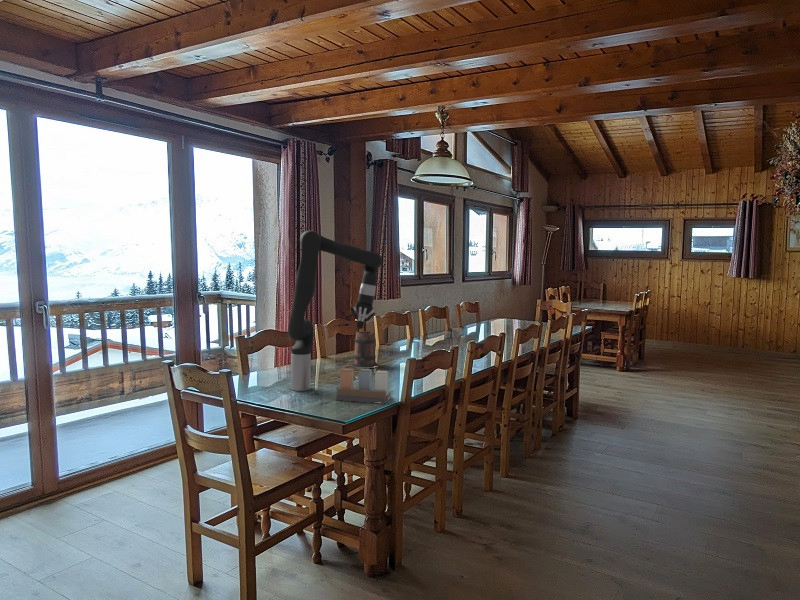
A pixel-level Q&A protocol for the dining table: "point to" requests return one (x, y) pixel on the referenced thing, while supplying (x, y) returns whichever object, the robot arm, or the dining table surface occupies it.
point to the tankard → (364, 350)
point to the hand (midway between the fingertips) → (359, 328)
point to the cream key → (381, 381)
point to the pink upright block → (346, 378)
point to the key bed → (347, 398)
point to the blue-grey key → (365, 379)
